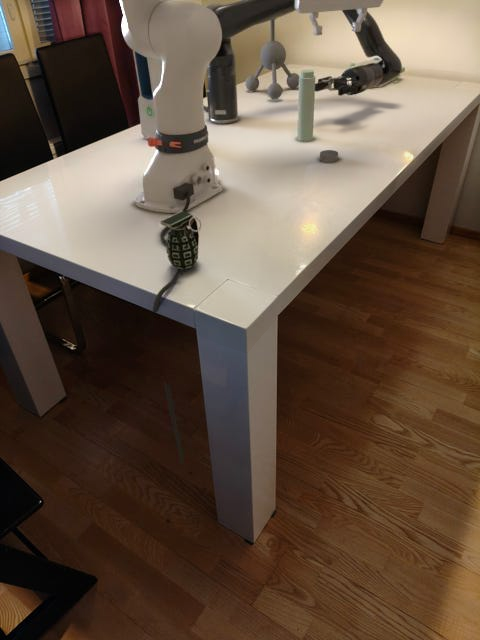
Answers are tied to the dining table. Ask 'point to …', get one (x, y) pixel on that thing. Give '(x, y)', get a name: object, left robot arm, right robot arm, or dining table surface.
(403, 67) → the grey box with clips
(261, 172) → the dining table surface
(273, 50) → the molecular model
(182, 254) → the grenade
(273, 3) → the right robot arm
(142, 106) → the electronic device
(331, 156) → the lid
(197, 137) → the left robot arm
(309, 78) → the mint green cylinder
